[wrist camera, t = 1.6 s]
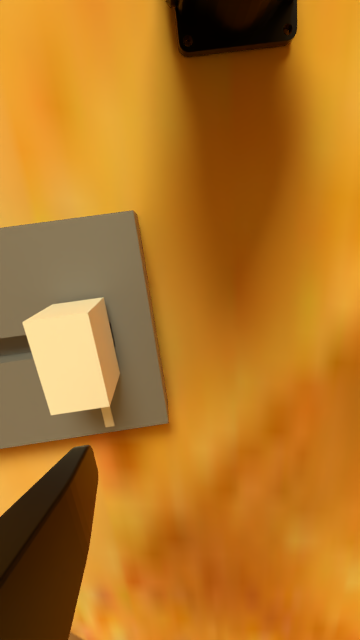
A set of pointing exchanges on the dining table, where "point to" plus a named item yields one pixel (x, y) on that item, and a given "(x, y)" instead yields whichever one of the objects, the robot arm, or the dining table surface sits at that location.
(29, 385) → the console
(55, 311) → the fader
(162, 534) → the dining table surface
